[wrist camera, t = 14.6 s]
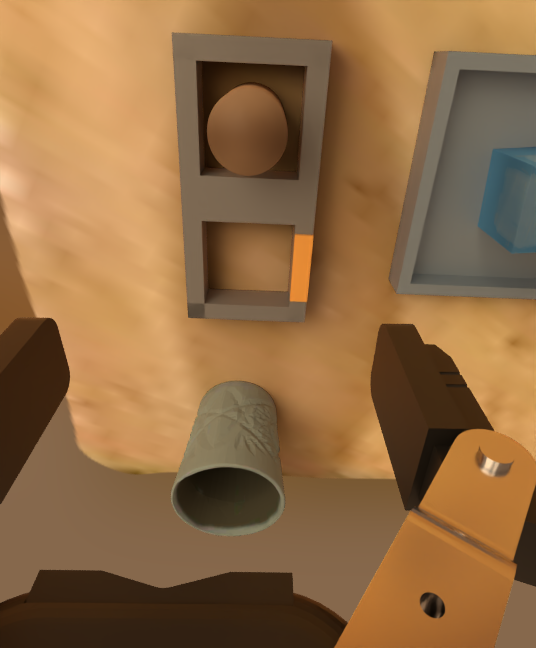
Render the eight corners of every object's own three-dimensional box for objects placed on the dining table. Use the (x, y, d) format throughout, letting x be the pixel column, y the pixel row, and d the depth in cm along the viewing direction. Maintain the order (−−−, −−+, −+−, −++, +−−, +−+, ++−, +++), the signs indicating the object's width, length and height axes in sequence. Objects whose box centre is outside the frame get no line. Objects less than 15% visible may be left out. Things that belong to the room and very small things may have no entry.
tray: (434, 51, 32) (448, 51, 29) (679, 64, 32) (715, 64, 30) (388, 279, 41) (396, 293, 39) (579, 286, 41) (600, 302, 39)
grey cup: (298, 398, 49) (306, 489, 38) (255, 455, 53) (251, 550, 43) (214, 361, 46) (198, 448, 36) (177, 424, 51) (153, 517, 40)
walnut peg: (219, 80, 33) (205, 86, 26) (286, 84, 33) (290, 90, 26) (220, 151, 35) (207, 174, 29) (282, 154, 36) (285, 177, 29)
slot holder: (179, 34, 31) (170, 32, 29) (327, 42, 32) (332, 40, 29) (193, 302, 42) (187, 319, 40) (302, 306, 43) (304, 324, 40)
